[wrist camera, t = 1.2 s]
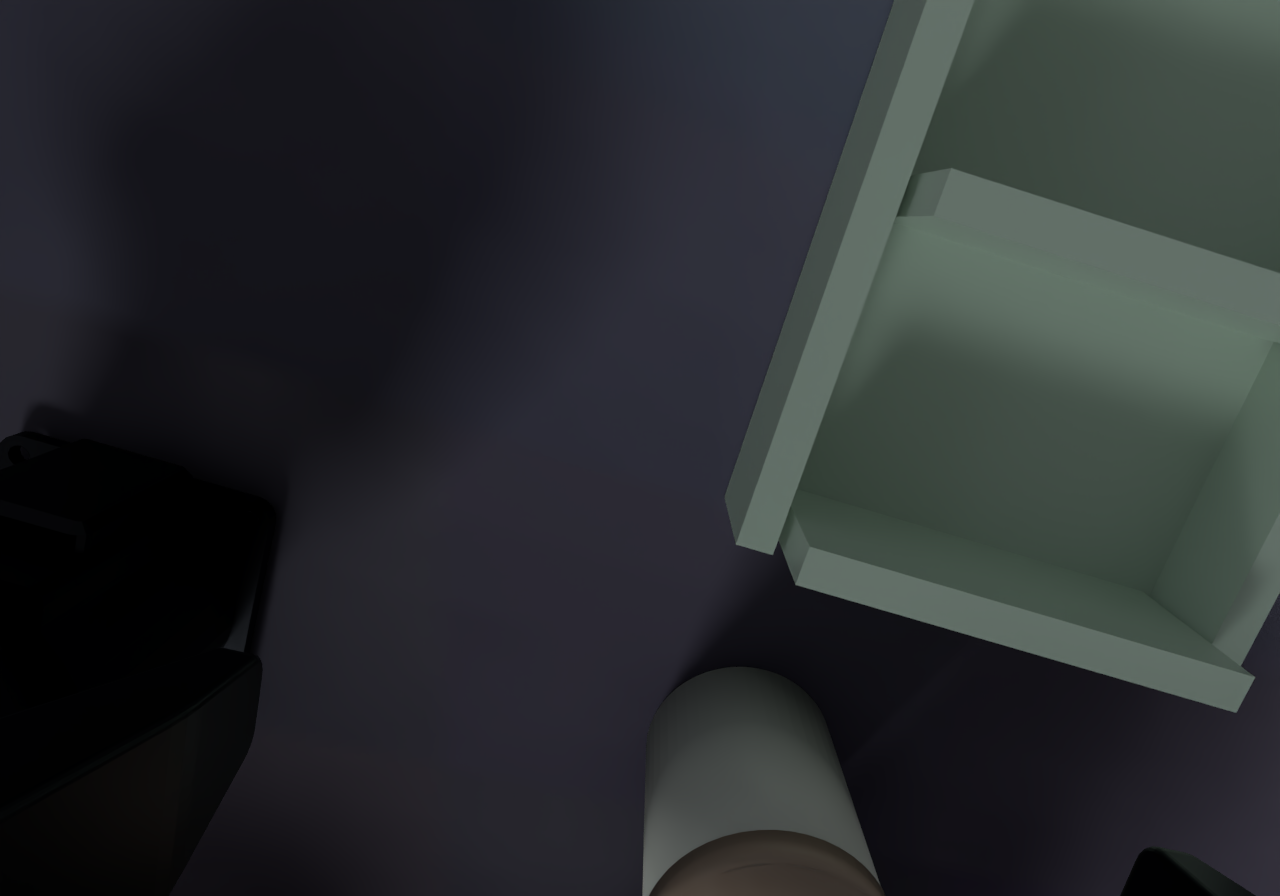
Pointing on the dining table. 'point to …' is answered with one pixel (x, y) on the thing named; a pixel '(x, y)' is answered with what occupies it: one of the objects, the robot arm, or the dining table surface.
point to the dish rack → (1044, 340)
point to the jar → (748, 794)
